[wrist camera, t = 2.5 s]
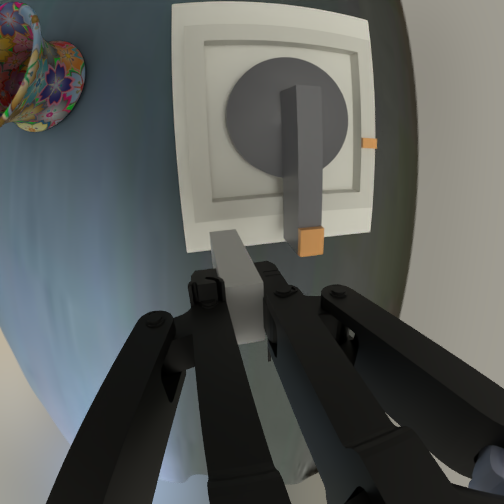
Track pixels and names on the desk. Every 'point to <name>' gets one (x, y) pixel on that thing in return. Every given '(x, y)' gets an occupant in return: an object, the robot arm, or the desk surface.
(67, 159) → the desk surface
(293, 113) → the dial
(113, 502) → the robot arm
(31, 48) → the mug
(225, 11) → the panel
